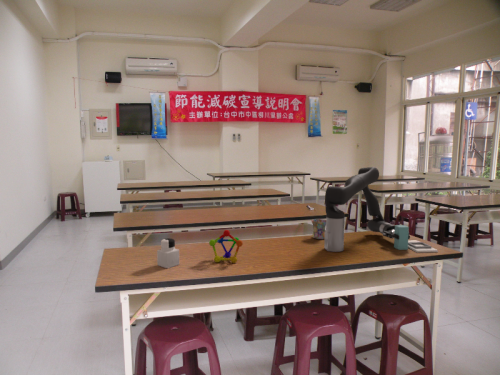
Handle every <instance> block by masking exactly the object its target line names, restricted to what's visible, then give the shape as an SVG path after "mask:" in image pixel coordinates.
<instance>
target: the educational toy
mask: <svg viewBox="0 0 500 375" xmlns="http://www.w3.org/2000/svg"><path fill="white" fill-rule="evenodd" d="M226 237H229V238H230V239H228V238H226ZM224 238H225V239H224ZM223 242H230V243H231V242H233V243H232V244H231V246H230V248H229V250H227V248H226V246H225V244H224V243H223ZM217 243H218V244H220V245H221V247H222V248H223V251H224V255H221V256H220V255H218V253H217V249H216V247H215V246H216V244H217ZM208 244H209V245H210V247H212V250H213V253H214V255H215V256H214V258H213V261H214V262H215V263H220V262H221V261H231V263H232V264H236V263H237V262H238V258H237V255H238V252H239V250H240V248H241V247H242V246H243V244H244V243H243V240H241V239H239V237H235V236H232V234H231V233H230V230H229V229H224V231H223V234H221V235H219V237H216V238H215V239H213V238H211V239H210V240H209V241H208ZM235 246H236V250H235V252H234V254H233V256H232V253H231V252H232V251H233V249H234V247H235Z"/></svg>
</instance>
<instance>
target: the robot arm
mask: <svg viewBox="0 0 500 375" xmlns="http://www.w3.org/2000/svg"><path fill="white" fill-rule="evenodd" d="M379 177H380V172H379V169H378V168H377V167H376V166H375V167H374V166H370V167H361V168H359V169H358V172H357V174H355V175H352V176H351V177H349V178H347V179H346V181H345V182H344V186H333V185H332V186H328V187H327V188H326V191H325V196H324V197H325V198H324V200H325V201H324V202H325V214H326V216H325V217H326V218H325V220H326V226H325V238H324V249H325V250H326V251H327V252H334V253H335V252H336V253H338V252H340V253H341V252H343V251H344V247H345V245H344V243H345V242H344V241H345V212H344V211H343V210H341V209H339V208H338V207H337V206H343V205H346V204H347V203H348V202H349V201H350V200H351V199H352V198H353V197H354V196H355V195H356V194H358V193H360V192H362V193H363V196H364V199H365V202H366V206H367V207H366V208H367V213H368V215H369V216H371V217H375V218H373V219H369V220H368V221H367V223H366V226H367V228H368V229H369V230H370V231H371V232H375V233H380V234H382V236H384V237H386V238H388V239H394V238H396V239H398V240H399V235H397V234H395V224H392V223H389V222H387V221H385V219H384V217H383V215H382V212H381V207H380V202H379V200H378V198H377V196H376V195H375V194H374V192H372V190H371V189H370V188H369V185H371V184H374V183H375V182H377V181H378V180H379ZM410 238H411V235H410V232H409V234H408V240H410Z"/></svg>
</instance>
